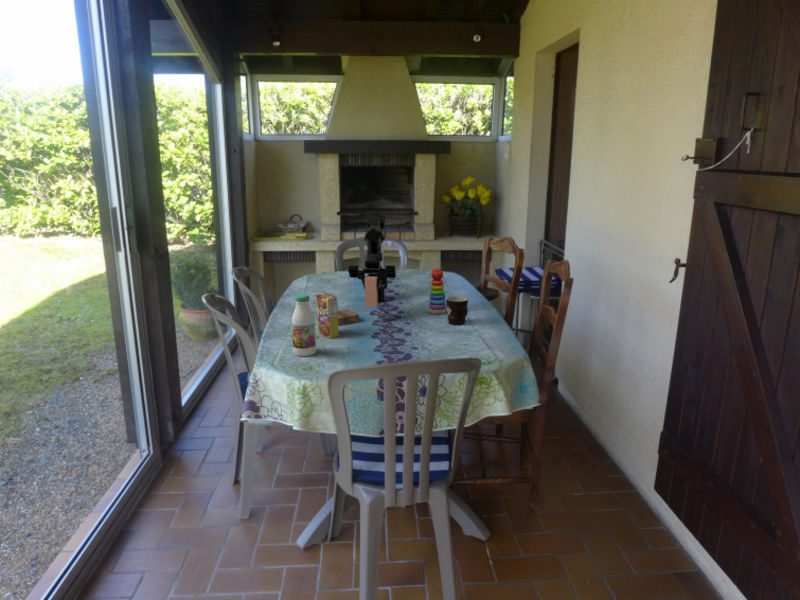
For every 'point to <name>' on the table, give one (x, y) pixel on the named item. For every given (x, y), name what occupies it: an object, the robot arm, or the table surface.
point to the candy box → (327, 315)
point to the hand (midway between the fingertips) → (370, 289)
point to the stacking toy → (437, 293)
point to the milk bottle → (303, 327)
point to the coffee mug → (457, 309)
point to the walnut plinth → (347, 317)
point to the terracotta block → (371, 291)
